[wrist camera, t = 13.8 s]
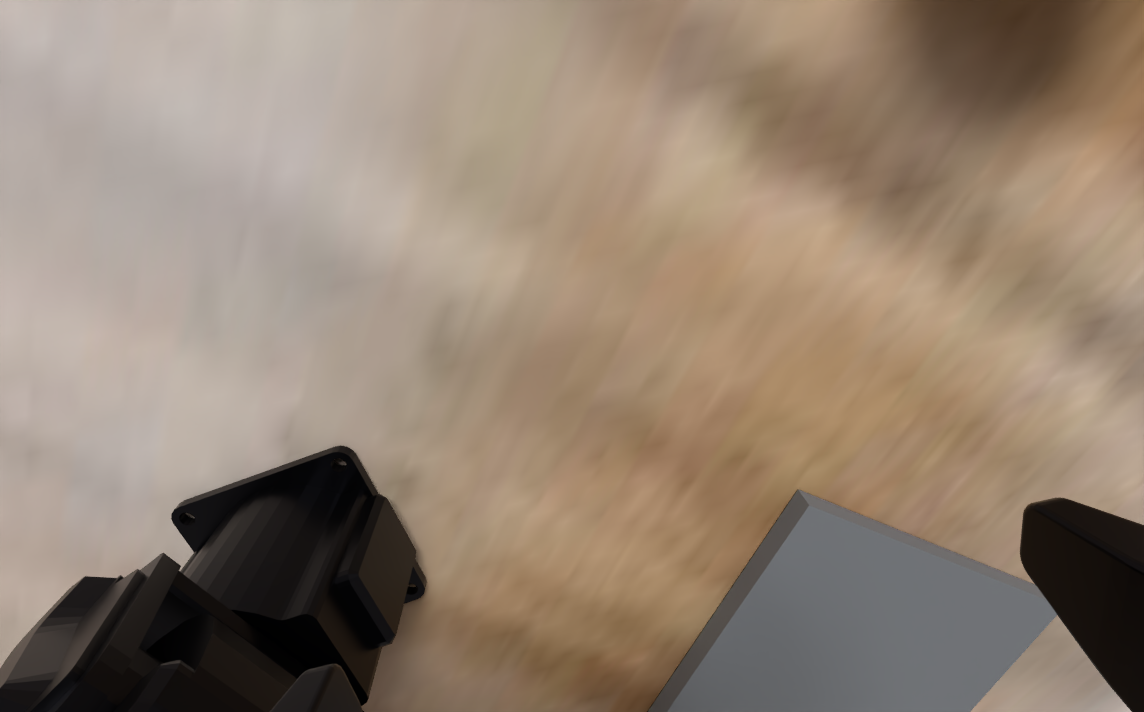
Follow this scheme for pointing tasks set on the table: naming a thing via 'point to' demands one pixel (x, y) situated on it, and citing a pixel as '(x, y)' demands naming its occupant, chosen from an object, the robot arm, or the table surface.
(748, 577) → the board
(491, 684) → the table surface
